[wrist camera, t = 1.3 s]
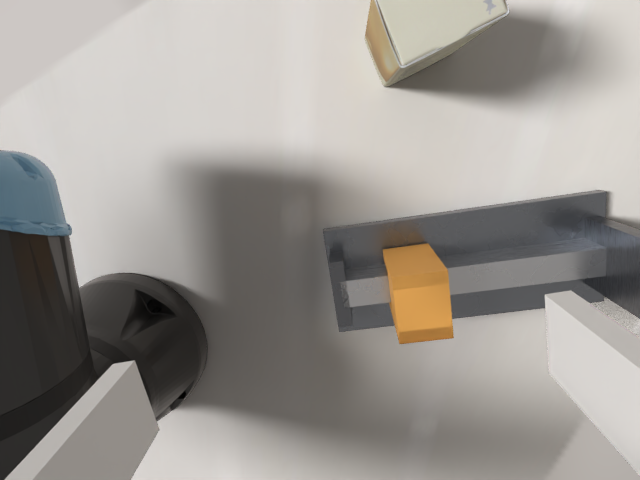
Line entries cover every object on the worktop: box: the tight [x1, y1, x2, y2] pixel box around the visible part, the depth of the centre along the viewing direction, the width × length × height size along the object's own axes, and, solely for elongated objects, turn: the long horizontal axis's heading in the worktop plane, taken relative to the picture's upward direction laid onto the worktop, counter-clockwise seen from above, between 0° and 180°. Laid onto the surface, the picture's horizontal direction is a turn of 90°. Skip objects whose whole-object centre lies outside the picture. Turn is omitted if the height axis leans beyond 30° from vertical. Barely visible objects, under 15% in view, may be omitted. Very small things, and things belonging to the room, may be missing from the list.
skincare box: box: [365, 0, 510, 87], centre depth 26 cm, size 6×4×12 cm
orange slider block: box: [383, 243, 454, 344], centre depth 33 cm, size 4×5×7 cm
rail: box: [323, 190, 640, 332], centre depth 33 cm, size 24×10×8 cm, turn 99°
